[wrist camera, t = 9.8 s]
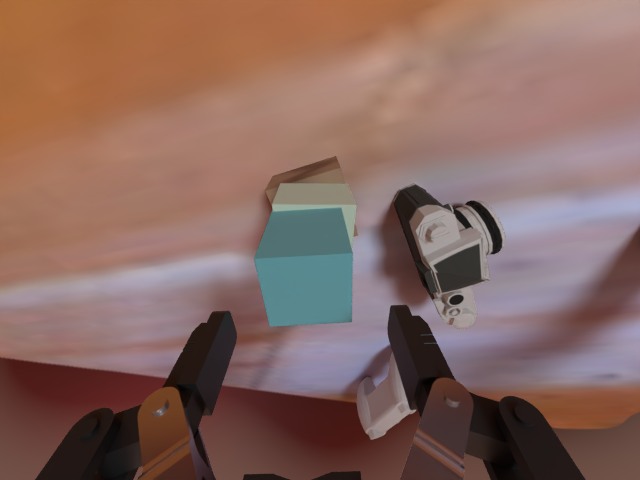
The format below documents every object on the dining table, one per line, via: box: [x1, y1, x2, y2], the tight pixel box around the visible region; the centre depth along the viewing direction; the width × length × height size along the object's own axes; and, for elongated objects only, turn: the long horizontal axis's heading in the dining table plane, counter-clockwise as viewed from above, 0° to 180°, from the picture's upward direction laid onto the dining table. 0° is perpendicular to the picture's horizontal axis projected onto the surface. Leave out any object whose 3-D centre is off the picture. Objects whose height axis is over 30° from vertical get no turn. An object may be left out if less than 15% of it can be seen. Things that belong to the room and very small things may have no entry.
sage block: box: [272, 183, 356, 248], centre depth 21 cm, size 6×6×5 cm
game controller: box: [357, 351, 416, 439], centre depth 39 cm, size 14×4×10 cm, turn 154°
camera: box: [393, 183, 506, 329], centre depth 26 cm, size 16×9×10 cm, turn 26°
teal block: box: [254, 207, 353, 327], centre depth 16 cm, size 5×5×6 cm
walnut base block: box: [265, 156, 358, 237], centre depth 25 cm, size 7×7×5 cm
